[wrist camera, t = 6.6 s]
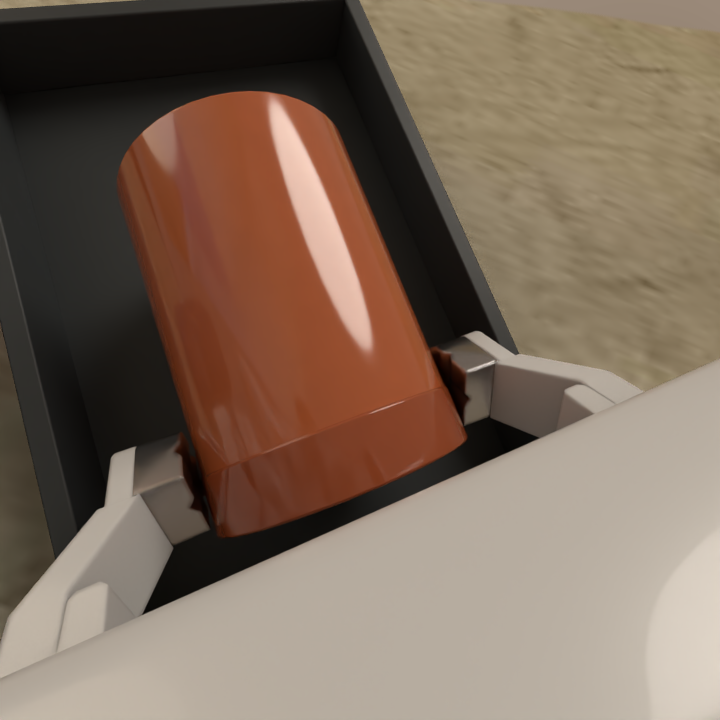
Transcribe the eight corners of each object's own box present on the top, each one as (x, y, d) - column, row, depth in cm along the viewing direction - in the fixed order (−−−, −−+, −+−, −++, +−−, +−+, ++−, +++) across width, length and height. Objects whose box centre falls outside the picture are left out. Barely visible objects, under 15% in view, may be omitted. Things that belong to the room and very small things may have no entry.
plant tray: (527, 497, 16) (588, 505, 13) (144, 684, 12) (100, 759, 9) (340, 62, 20) (353, -15, 16) (-4, 102, 16) (-73, 12, 13)
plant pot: (330, 224, 16) (417, 444, 15) (154, 264, 14) (232, 520, 13) (367, 71, 10) (524, 430, 8) (61, 109, 8) (194, 573, 7)
